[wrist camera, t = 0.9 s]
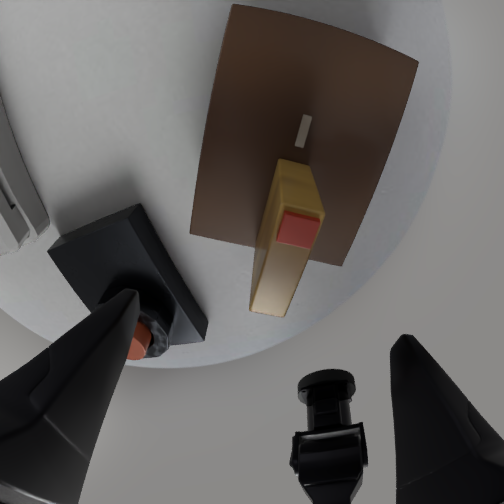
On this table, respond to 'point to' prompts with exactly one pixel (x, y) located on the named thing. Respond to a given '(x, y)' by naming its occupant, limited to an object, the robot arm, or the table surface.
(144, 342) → the arm button
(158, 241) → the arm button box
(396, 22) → the table surface
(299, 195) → the block
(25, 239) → the intercom
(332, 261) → the brown box with slot
